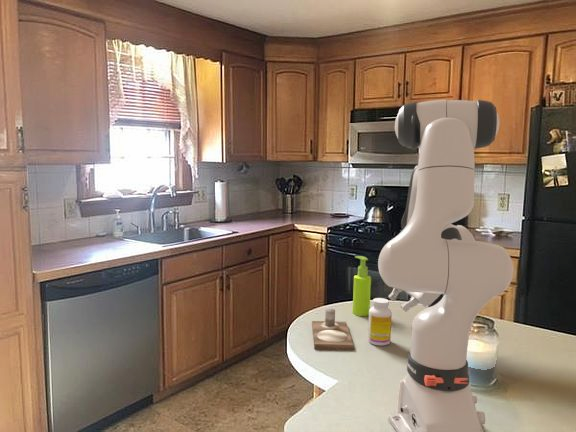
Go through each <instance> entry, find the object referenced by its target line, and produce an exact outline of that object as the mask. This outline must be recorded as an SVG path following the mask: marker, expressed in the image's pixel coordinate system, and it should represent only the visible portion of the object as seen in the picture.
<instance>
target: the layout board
mask: <svg viewBox="0 0 576 432" xmlns="http://www.w3.org/2000/svg"><path fill="white" fill-rule="evenodd" d="M324 317H325V319H324V320H321V321H320V320H311V327H312V329H311V330H312V338H313V339H312V340H313V346H314V347H313V348H314V350H344V351H345V350H349V351H350V350H351V351H352V350H354V342H353V339H352V336H351V334H350V330H349V327H348V324H347V321H336V309H334V308H326V309H325V316H324Z"/></svg>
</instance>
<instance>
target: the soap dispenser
mask: <svg viewBox="0 0 576 432" xmlns="http://www.w3.org/2000/svg"><path fill="white" fill-rule="evenodd" d="M354 258H355V259H359V260H360V265H358V266H357V275H354V276H353V290H352V293H353V294H352V295H353V296H352V314H353V315H355V316H359V317H367V316H369V310H370V308H371V292H372V291H371V287H372V276H370V275H368V274H369V273H368V272H369V271H368V270H369V268H368V266H367V265H366V261H369V258H367V257H366V256H363V255H355V256H354Z"/></svg>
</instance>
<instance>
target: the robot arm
mask: <svg viewBox="0 0 576 432" xmlns="http://www.w3.org/2000/svg"><path fill="white" fill-rule="evenodd" d="M396 115H397V116H396V117H395V120H394V121H395V122H394V132H395V136H396V138H397V140H398V143H399V144H400V145H401V146H402V147H403V148H407V149H411V150H413V151H415V150H416V149H419V154H418V164H416V165H415V167H414V168H413V169H412V172H411V175H410V179H409V185H408V191H407V199H406V204H405V205H406V206H405V209H404V213H403V215H402V218H401V223H400V226H401V227H400V228H401V231H400V232H399V233H398V234H397V235H396V236H395V237H393V238H391V240H389V241H387V243H386V244H384V246H383V247H382V249H381V251H380V253H379V255H378V259H377V260H378V261H377V267H378V273H379V275H380V277H381V279H382V281H383V282H384V284H385V285H387V287H390V288H393V289H392V291H391V292H390V294H388V298H389V299H390V300H391V301H392V302H395V301H396V300H397V299H398V295H399V294H400V293H402V292H405V293H406V294H407V295H408V296H409V297H410V298H409V300H408V301H406V302H403V303H402V304H401V305H400V308H401V310H403V312H406V313H407V312H408V311H409V310H410V309H412V308H414V307H416V306H418V305H419V304H421V306H423V307H425V308H424V309H423V310H421V311H419V312H418V313H417V314H416V315H415V316H414V318H413V319H412V322H411V337H410V351H409V352H408V353H407V354H408V355H407V359H406V364H407V366H406V370H407V372H406V375H405V376H404V377H403V378H402V379H401V380H400V381H399V383H398V391H397V392H398V393H397V402H396V410H394V411H392V412H390V413H389V415H388V421H389V423H390V424H391V426H392V427H393V428H394V429H395V431H396V432H484V429H483V426H482V425H485V424H486V414H485V412H484V411H477V407H476V404H477V403H478V397H477V396H475V395H473V392H472V388H471V382H470V368H469V363H468V362H469V361H468V358H467V356H468V354H467V353H468V347H469V339H470V335H471V329H472V326H473V323H474V321H475V319H476V317H477V316H478V314H479V313H480V312H481V310H482V309H483V308H484V306H486V305H487V303H489V302H490V301H492V300H493V299H494V298H495V297H497V296H499V295H501V294H503V293H504V292H505V291H506V290H507V289H508V288H509V286H510V285H511V283H512V280H513V277H514V271H515V270H514V263H513V259H512V258H511V255H510V254H509V253H508V251H507V250H506V248H505V247H503V246H501V245H497V244H494V243H490V242H485V241H481V240H476V239H475V237H474V235H473V233H472V232H471V231H470V230H469V229H468V227H465V226H463V225H461V224H460V225H459V224H457V225H454V224H453V223H456V222H458V221H460V220H462V219H464V218H466V217H467V216H469V214H470V213H471V212H472V210H473V209H474V207H475V206H474V205H475V177H476V176H475V175H476V174H475V173H476V172H475V171H476V168H475V166H476V165H475V164H476V163H475V161H476V160H475V151H474V149H475V150H477V149H483V148H487V147H489V146H490V145H491V144H493V143H494V142H495V140H496V137H497V134H498V132H499V129H500V115H499V114H498V110H497V107H496V106H495V104H493V102H492V101H488V100H482V99H477V100H466V99H465V100H464V99H459V100H458V99H455V100H454V99H445V98H444V99H433V100H427V101H426V100H425V101H421V102H417V101H411V102H409V103H406V104H403V105H402V106H401V107H400V108H399V110H398V113H397V114H396ZM441 294H444V296H443V298H442V299H441V300H440V301H439V302H438V303H437V304H436V305H434V306H431V307H429V308H428V305H430V304H432V303H433V302H434V301H435V300H436V299H437V298H438V297H439V296H440V295H441ZM426 307H427V308H426Z"/></svg>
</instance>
